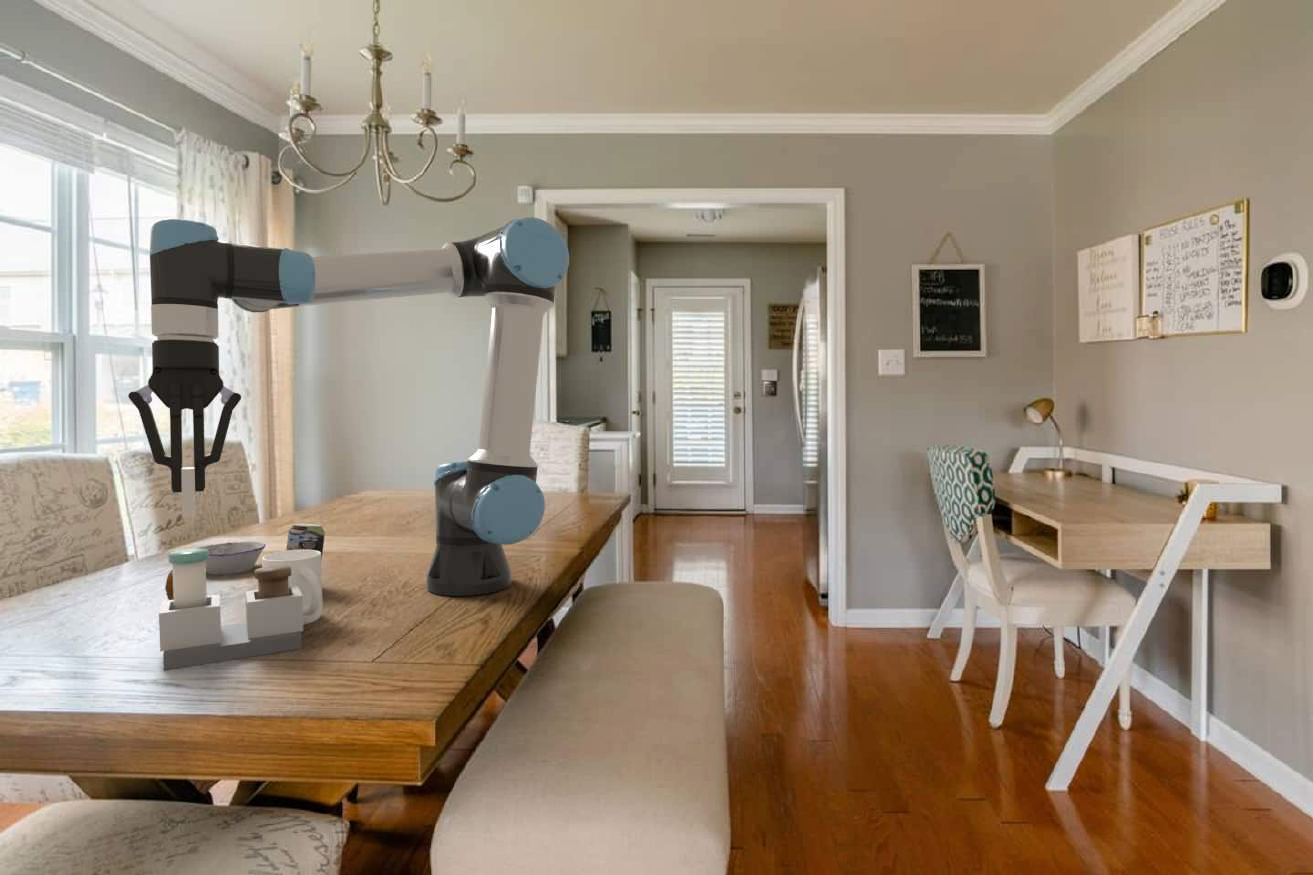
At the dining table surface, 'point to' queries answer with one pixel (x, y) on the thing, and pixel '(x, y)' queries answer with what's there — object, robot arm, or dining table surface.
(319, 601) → the mug
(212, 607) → the white plug holder
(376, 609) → the dining table surface
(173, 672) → the dining table surface
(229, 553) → the bowl
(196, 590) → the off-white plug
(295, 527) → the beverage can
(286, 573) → the walnut plug
